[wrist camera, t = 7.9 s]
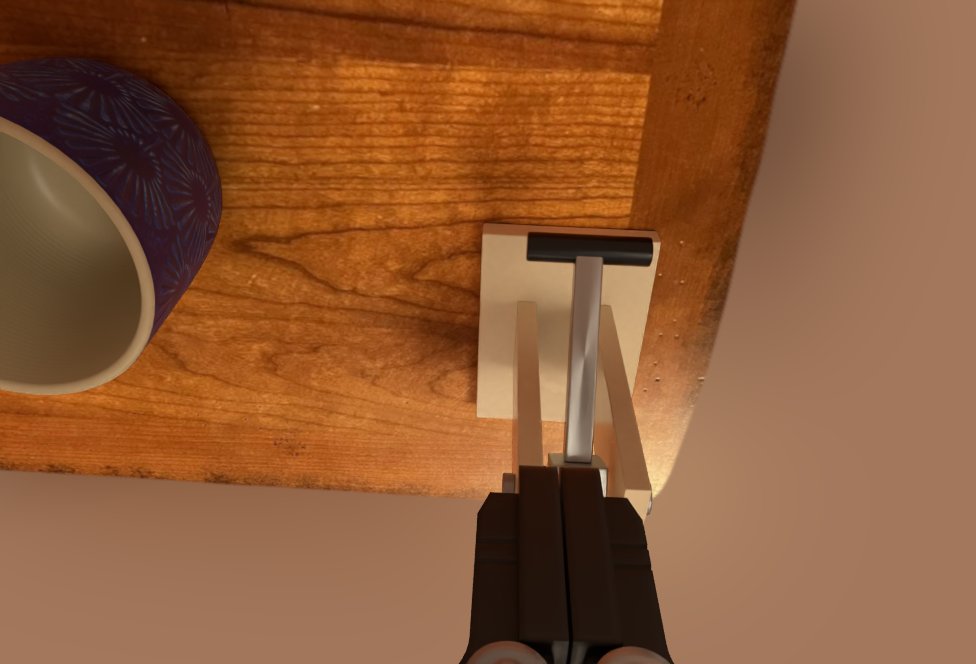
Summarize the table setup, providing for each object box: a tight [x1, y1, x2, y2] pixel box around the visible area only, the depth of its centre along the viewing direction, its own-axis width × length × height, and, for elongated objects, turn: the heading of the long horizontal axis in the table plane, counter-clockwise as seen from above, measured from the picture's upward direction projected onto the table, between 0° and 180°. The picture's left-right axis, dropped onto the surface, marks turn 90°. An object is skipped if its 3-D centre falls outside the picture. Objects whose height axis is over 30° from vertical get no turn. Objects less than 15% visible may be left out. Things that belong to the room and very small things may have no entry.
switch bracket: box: [476, 223, 661, 525], centre depth 33 cm, size 12×9×15 cm
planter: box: [0, 57, 222, 395], centre depth 31 cm, size 12×12×11 cm
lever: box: [526, 232, 654, 497], centre depth 29 cm, size 12×5×2 cm
